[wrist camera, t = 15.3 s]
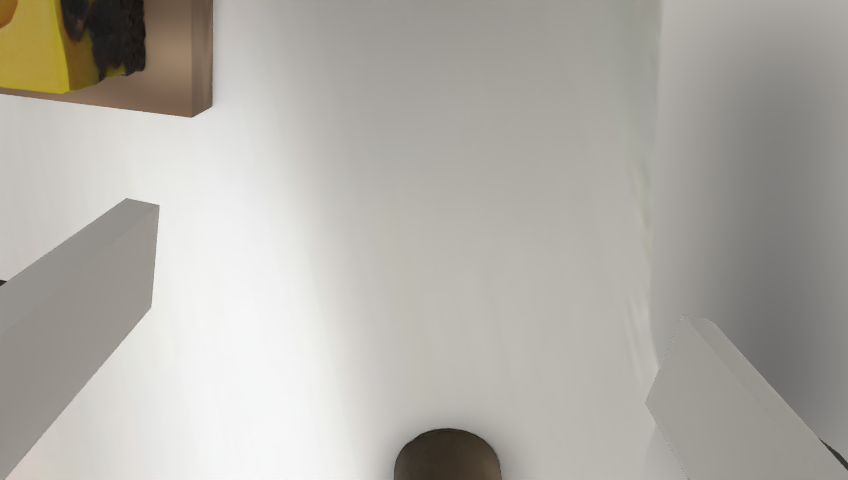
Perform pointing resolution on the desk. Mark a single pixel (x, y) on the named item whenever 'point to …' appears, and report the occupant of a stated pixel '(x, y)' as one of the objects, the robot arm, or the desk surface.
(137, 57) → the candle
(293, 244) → the desk surface
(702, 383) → the robot arm
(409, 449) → the pillar candle
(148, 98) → the walnut block
